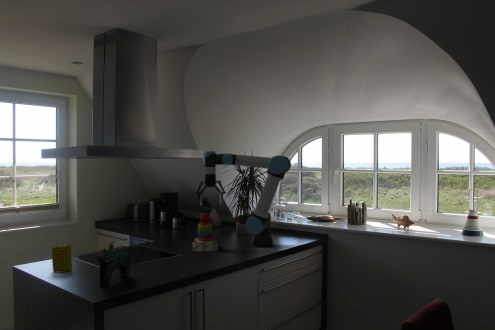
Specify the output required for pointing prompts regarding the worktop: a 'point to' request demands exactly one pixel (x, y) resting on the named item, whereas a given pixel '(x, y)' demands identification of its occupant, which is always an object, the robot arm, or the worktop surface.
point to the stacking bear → (205, 228)
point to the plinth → (206, 248)
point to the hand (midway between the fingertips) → (210, 204)
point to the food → (61, 258)
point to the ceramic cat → (113, 263)
